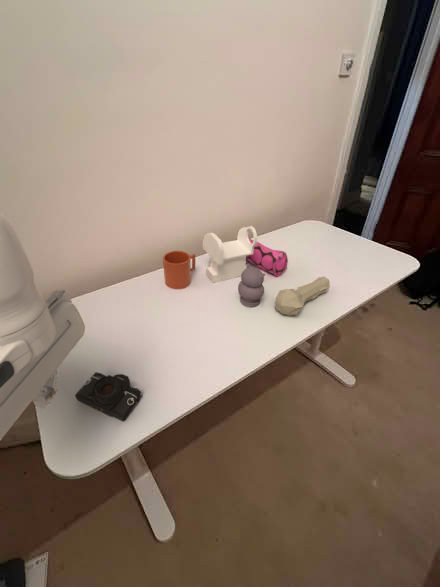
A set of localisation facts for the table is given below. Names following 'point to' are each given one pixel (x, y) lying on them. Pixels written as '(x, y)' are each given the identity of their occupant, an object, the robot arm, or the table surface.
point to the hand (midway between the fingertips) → (47, 398)
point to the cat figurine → (251, 286)
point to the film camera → (109, 395)
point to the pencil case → (268, 259)
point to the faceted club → (300, 296)
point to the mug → (178, 269)
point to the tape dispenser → (228, 254)
